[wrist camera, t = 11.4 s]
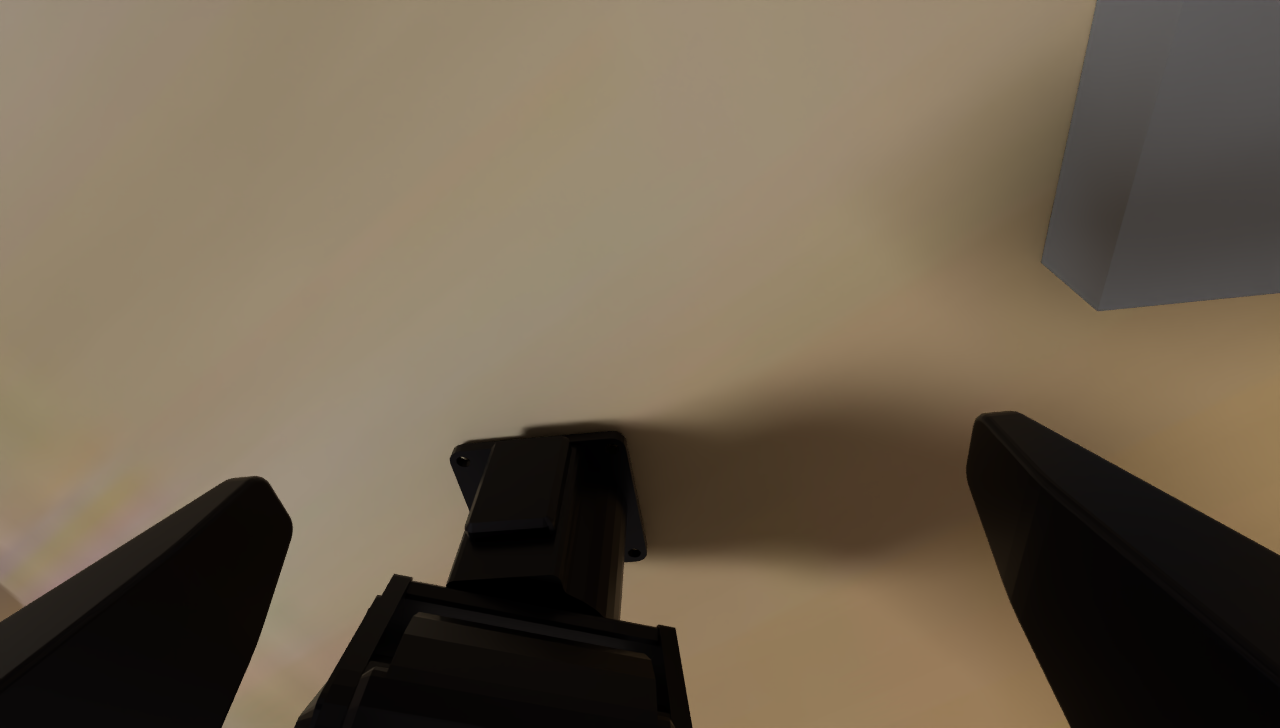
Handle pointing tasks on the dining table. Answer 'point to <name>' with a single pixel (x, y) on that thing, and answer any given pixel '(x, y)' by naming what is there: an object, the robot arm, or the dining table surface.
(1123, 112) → the dock
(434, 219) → the dining table surface
